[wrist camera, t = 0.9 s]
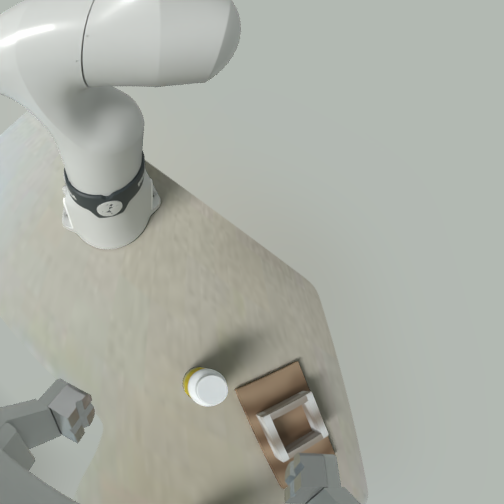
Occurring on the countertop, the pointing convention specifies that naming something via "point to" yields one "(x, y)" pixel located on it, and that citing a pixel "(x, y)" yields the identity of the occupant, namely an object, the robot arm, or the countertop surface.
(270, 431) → the jig board
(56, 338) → the countertop surface
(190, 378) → the supplement bottle
